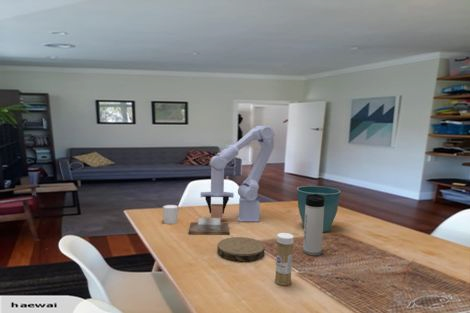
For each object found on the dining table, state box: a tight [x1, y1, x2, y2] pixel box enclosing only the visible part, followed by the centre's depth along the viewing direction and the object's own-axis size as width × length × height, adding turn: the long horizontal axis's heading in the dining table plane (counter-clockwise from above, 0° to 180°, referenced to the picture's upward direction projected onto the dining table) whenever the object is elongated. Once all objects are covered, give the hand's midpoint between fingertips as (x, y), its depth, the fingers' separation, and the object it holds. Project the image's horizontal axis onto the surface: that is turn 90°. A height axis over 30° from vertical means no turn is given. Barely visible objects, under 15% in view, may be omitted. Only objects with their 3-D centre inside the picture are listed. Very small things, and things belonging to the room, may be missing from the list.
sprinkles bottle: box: [274, 232, 295, 286], centre depth 90 cm, size 5×5×14 cm
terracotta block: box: [210, 203, 224, 219], centre depth 145 cm, size 5×5×5 cm
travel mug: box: [302, 194, 325, 256], centre depth 112 cm, size 6×7×20 cm
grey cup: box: [162, 204, 179, 225], centre depth 142 cm, size 7×7×7 cm
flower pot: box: [296, 185, 341, 233], centre depth 140 cm, size 18×18×17 cm
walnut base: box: [188, 217, 230, 236], centre depth 133 cm, size 16×12×4 cm
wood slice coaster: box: [216, 236, 265, 263], centre depth 110 cm, size 16×16×3 cm
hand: (216, 213), depth 145 cm, fingers closed on terracotta block, 5 cm apart
